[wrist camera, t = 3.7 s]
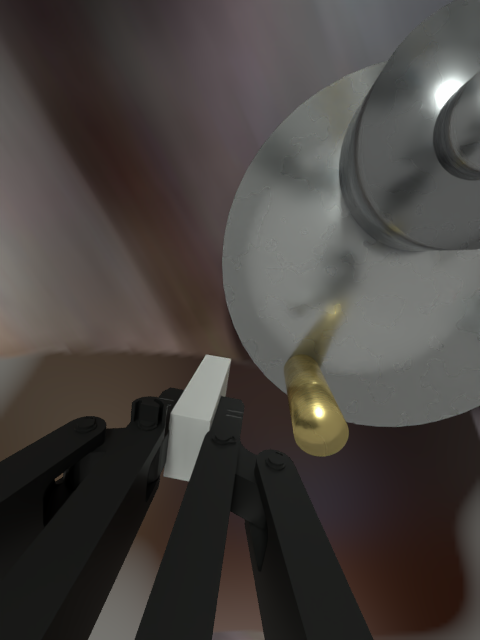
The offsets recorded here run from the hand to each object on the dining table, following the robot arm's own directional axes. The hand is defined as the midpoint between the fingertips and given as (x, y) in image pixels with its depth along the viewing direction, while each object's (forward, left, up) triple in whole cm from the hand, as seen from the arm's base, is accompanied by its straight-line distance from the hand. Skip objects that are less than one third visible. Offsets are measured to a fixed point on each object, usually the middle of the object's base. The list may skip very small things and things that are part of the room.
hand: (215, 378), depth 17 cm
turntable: (+5, +12, -6) cm, 14 cm away
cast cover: (+2, +17, -3) cm, 17 cm away
